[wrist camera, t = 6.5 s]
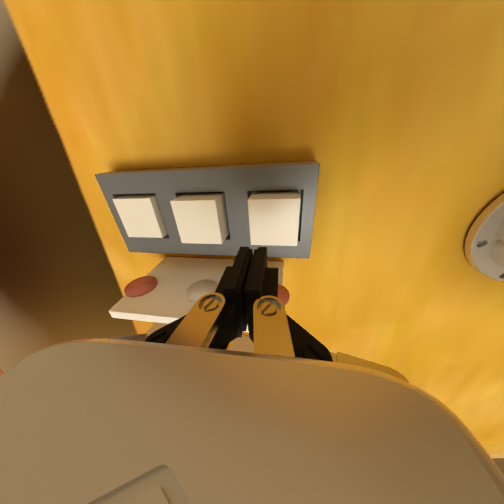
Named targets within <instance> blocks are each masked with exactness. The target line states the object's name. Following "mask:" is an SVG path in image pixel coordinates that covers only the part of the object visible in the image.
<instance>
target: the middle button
mask: <svg viewBox="0 0 504 504" xmlns="http://www.w3.org/2000/svg"><path fill="white" fill-rule="evenodd" d="M170 203H171V206H172V210H173V214H174V217H175V221H176V224H177V228H178V231H179V235H180V239H181V242H182V243H194V244H223V242H224V240H225V239H226V237H227V236H228V234H229V225H228V218H227V210H226V203H225V195H224V193H201V194H183V195H181V196H179V197H177V198H175V199H173V200H171V201H170Z"/></svg>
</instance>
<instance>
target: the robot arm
mask: <svg viewBox="0 0 504 504" xmlns="http://www.w3.org/2000/svg"><path fill="white" fill-rule="evenodd" d="M465 255H466V258H467V260H468V262H469V264H470V265H472V266H473V267H474V268H475V269H476V270H477V271H479V272H480V273H482V274H483V275H485V276H487V277H489V278H492V279H494V280H498V281H503V282H504V193H503V194H502V195H500V196H499V197H498V198H497V199H496V200H495V201H493V202H492V203H491V204H490V205H489V206H488V207H487V208H486V209H485V210H484V211H483V212H482V213H481V214H480V215H479V216H478V218H477V219H476V220H475V222H474V223H473V225H472V227H471V228H470V230H469V232H468V235H467V237H466V241H465ZM247 324H248V331H249V336H250V339H251V340H252V342H253V343H254V353H251V352H242V351H232V350H231V347H232V344H233V342H232V341H233V340H234V339H236V338H237V337H242V332H243V331H245V332H246V329H247ZM0 504H504V475H503V474H502V473H501V471H500V470H499V468H498V467H497V465H496V464H495V462H494V461H493V460H492V458H491V457H490V456H489V454H488V453H487V452H486V450H485V449H484V448H483V446H482V445H481V444H480V442H479V441H478V440H477V439H476V437H475V436H474V435H473V434H472V432H471V431H470V430H469V429H468V428H467V426H466V425H465V424H464V423H463V422H462V421H461V420H460V419H459V417H458V416H457V415H456V414H455V413H454V412H452V411H451V410H450V409H449V408H448V407H447V406H446V405H445V404H443V403H442V402H441V401H439V400H438V399H437V398H435V397H434V396H432V395H430V394H429V393H427V392H425V391H424V390H422V389H420V388H418V387H416V386H414V385H412V384H410V383H409V382H408V381H407V379H406V378H405V377H404V376H403V375H402V374H400V373H399V372H398V371H396V370H394V369H392V368H390V367H387V366H384V365H380V364H377V363H374V362H370V361H367V360H364V359H360V358H357V357H354V356H351V355H347V354H344V353H341V352H337V354H335V353H332V352H329V350H328V349H327V348H326V347H325V346H324V345H323V344H321V343H320V342H319V341H318V340H317V339H315V338H314V337H313V336H312V335H311V334H309V333H308V332H307V331H306V330H305V329H303V328H302V327H301V326H300V325H299V324H297V323H296V322H295V321H294V320H293V319H291V318H290V317H289V316H288V315H287V314H286V311H285V306H284V304H283V302H282V301H281V300H280V299H279V298H278V268H269V267H268V265H267V247H258V249H255V250H254V254H253V250H252V249H250V248H249V247H240V248H239V251H238V253H237V256H236V258H235V261H234V263H233V265H232V266H227V267H226V268H225V271H224V273H223V275H222V277H221V279H220V282H219V284H218V286H217V288H216V290H215V293H208V294H205V295H203V296H201V297H200V298H199V299H198V300H197V301H196V303H195V304H194V305H193V307H192V308H191V309H190V311H189V312H188V313H187V315H185V316H183V317H181V318H179V319H177V320H175V321H173V322H171V323H169V324H167V325H166V326H164V327H162V328H160V329H158V330H156V331H154V332H153V333H151V334H150V335H149V336H148V334H147V333H146V334H138V335H130V336H122V337H115V338H108V339H82V340H75V341H68V342H64V343H60V344H56V345H53V346H49V347H47V348H44V349H41V350H39V351H36V352H34V353H33V354H31V355H29V356H27V357H26V358H24V359H23V360H21V361H20V362H19V363H17V364H16V365H15V366H13V367H12V368H11V369H9V370H8V371H6V372H5V373H4V374H2V375H1V376H0Z"/></svg>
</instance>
